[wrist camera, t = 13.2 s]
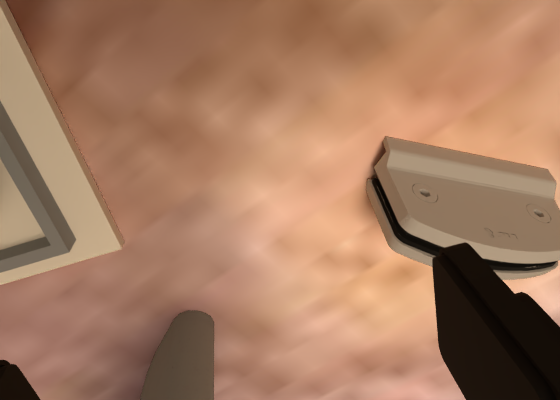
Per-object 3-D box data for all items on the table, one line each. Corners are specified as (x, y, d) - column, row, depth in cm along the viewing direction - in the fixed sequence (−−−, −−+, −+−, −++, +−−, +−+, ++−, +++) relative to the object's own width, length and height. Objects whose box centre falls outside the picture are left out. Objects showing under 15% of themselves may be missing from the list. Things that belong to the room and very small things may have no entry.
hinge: (551, 169, 42) (612, 257, 35) (519, 205, 45) (569, 292, 38) (381, 135, 38) (409, 224, 31) (359, 176, 41) (381, 266, 34)
